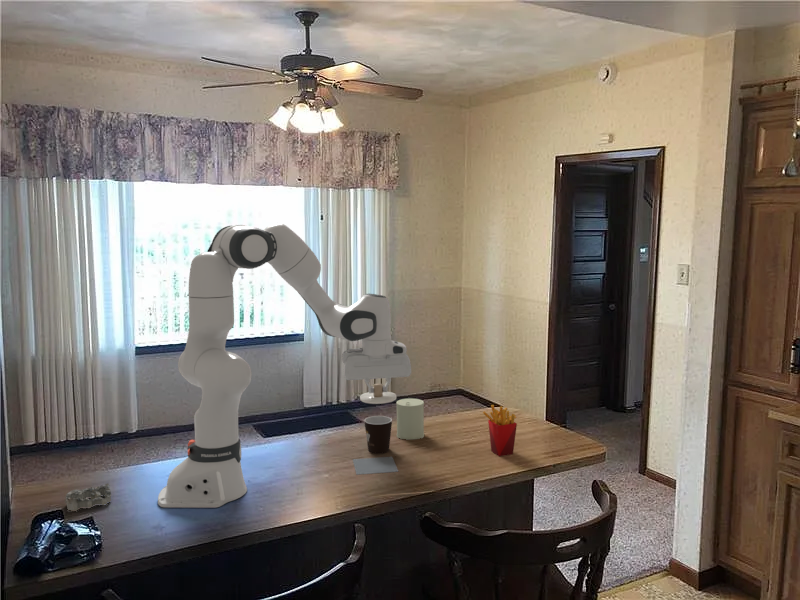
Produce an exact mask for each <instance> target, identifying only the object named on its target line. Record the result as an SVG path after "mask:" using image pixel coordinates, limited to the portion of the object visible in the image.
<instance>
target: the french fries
mask: <svg viewBox="0 0 800 600" xmlns="http://www.w3.org/2000/svg"><path fill="white" fill-rule="evenodd" d="M490 407H491V411H490V412H489V413H487V412H486V411H485V410H483V412H482V414H483V415H484V416H485V417H486V418H488V419H487V420H488V421H487V422H488V432H489V441H490V450H491V452H492V453H493V454H495V455H496V456H498V457H504V456H510V455H513V454H514V450H515V449H514V448H515V442H516V434H517V426H518V424H517V423H516V422H515V419H517V416H516V414H515V413H511V415H510V411H509V410H508V407H504V408H503V406H501V405H500V406H499V410H498V409H496V408H495V405H494V404H491V405H490ZM489 414H490V415H489Z"/></svg>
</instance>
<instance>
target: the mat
mask: <svg viewBox="0 0 800 600" xmlns="http://www.w3.org/2000/svg"><path fill="white" fill-rule="evenodd" d="M352 462H353V466H354V470H355V474H356V476H358V475H370V474H371V475H372V474H384V473H398V472H399V469H398V467H397V465H396V462H395V460H394V458H393V456H382V457H381V456H380V457H365V458H352Z"/></svg>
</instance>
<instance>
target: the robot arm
mask: <svg viewBox="0 0 800 600" xmlns="http://www.w3.org/2000/svg"><path fill="white" fill-rule="evenodd" d="M190 263H191V264H190V268H189V277H188V311H189V313H188V315H189V319H188V320H189V325H188V333H187V334H188V335H187V340H186V344H185V347H184V350H183V351H182V353H181V354H180V356H179V358H178V362H177V369H178V372H179V374H180V375H181V376H182V377H183V379H185V381H187V382H188V383H189V384H191V385H192V386H195V387H197V388H200V389H201V400H200V404H199V407H198V408H197V410H195V413H194V415H193V421H194V422H193V424H194V439H189V441H188V443H187V458H185V459H184V460H183V461H182V462H180V463H179V464H178V465H176V466H175V467H174V468H173V469H172V470H171V472H170V473H169V475H168V478H167V482H166V485H165V487H164V486H163V488H162V489H161V490H160V492H159V493H158V495H157V504H158V506H160V507H161V508H189V509H190V508H195V509H196V508H197V509H198V508H199V509H200V508H204V509H205V508H219V507H222V506H224V505H225V504H227V503H229V502H233V501H235V500H237V499H239V498H241V497H243V496H245V494H246V493H247V492H248V487H247V484H246V481H245V479H244V478H245V477H244V475H243V469H242V462H241V461H242V444H241V439H240V437H239V407H240V404H241V403H240V402H241V399H242V398H241V397H242V396H243V393H244V392H245V390H246V389H247V388H248V387H249V385H250V384H251V381H252V368H251V366H250V364H249V362H247V361H246V360H245V359H244V358H243V357H241V356H240V355H238V353H235V352H231V351H228V350H226V343H227V338H228V334H229V332H230V331H231V330H232V329H233V327H234V323H235V305H234V304H235V303H234V287H233V286H234V285H233V282H234V278H235V277H234V276H235V274H236V272H237V270H238V269H248V270H249V269H250V270H253V269H256V268H259V267H262V266H263V265H265V264H266V263H268V264H269V265H270V266H271V267H272V268H273V270H275V272H277V274H278V275H279V276H280V277H281V278H282V279H283V280H284V281H285V282H286V283H287V284H288V285H289V286H291V288H293V289H294V290H295V291H296V292H297V293H298V294H299V296H300V297H301V298H302V299H303V300H304V301H305V303H306V304H307V306H308V307H309V308H310V309H311V310H312V312H313V313H314V315H315V317H316V320H317V323H318V325H319V327H320V330H321V331H322V332H323V333H324V334H325V335H327V336H328V337H329V336H330V337H333V338H338V339H340V340H341V339H342V340H345V341H349V342H357V341H359V340H361V347H359V348H347V349H346V350H344V351H343V353H342V355H341V357H342V359H341V360H342V362H343V364H344V365H343V377H344V379H345V380H346V381H357V380H361V381H362V380H364V383H365V384H366V386H367V388H368V392H369V393H374V391H373V390H374V387H373V385H371V384H370V383H371V382H370V381H371V380H372V379H374V380H375V379H385V380H386V381H385V384H384V385H383V392H389V391H388V389H389V386H390V384H391V382H392V378H395V379H396V378H405V377H406V378H409V377H410V376H411V375H412V365H411V359H410V356H409V355H408V353H407V352H408V351H407V350H408V348H407V346H406V344H404V343H403V342H400V341H395V340H392V334H391V325H392V314H391V313H392V312H391V304H390V301H389V298H387V297H386V296H385V295H383V294H382V295H381V294H377V293H376V294H375V293H365V294H363V295H362V297H361V298H360V299H358V300H357V301H356V302H355V303H353V304H351V305H349V306H348V305H344V304H340V303H338V302H336V301H334V300H333V299H332V298H331V297H330V296H329V295H328V294H327V292H326V290H325V289H323V287H322V286H321V284H320V283H319V281H318V278H319V277H320V274H321V271H322V265H321V262H320V261H319V259H318V257H317V255H316V254H315V252H314V251H313V250H312V249H311V248H310V247H309V245H308V244H307V243H306V242H305V241H304V240H303V239H302V237H300V236H299V235H298V234H297V233H296V232H295V231H294V230H292V229H291V228H290V227H289V226H287V225H285V224H284V223H280V222H279V223H278V222H277V223H272V224H271V225H269V226H267V227H265V228H264V229H262V228H259V227H255V226H248V225H243V224H235V225H227V226H225V227H223V228H220V230H218V231H217V232H216V234H215V235H214V237H213V239H212V241H211V243H210V245H209V247H208V249H207V251H205V252H201V253H199V254H197V255H196V256H194V257H193V259H192V261H191V262H190Z"/></svg>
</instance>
